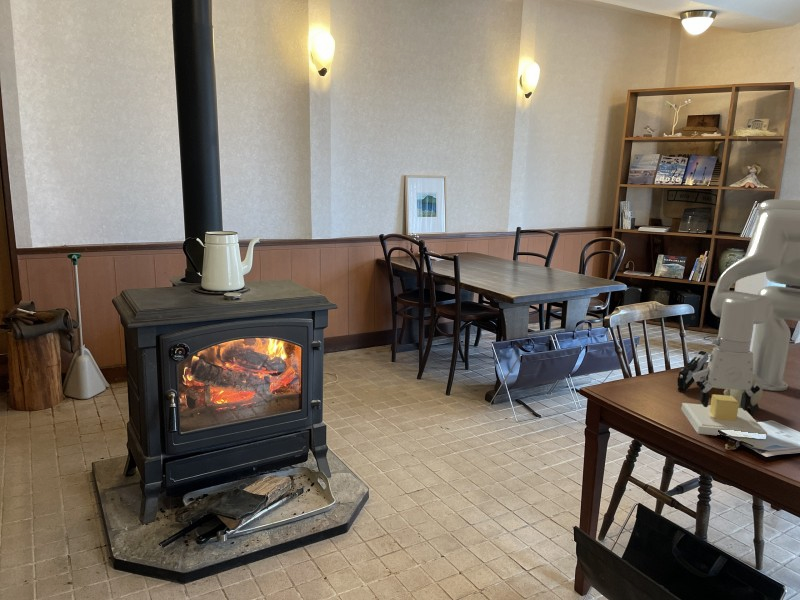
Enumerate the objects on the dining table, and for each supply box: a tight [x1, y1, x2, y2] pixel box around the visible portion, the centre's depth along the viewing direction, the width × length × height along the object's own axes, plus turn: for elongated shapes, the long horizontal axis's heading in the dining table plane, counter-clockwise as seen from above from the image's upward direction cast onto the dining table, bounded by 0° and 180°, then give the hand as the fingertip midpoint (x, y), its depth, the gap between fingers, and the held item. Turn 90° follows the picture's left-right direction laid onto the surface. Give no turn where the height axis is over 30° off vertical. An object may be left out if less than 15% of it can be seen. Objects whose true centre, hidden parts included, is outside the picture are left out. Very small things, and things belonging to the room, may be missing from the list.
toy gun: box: [677, 349, 710, 393], centre depth 187 cm, size 2×18×11 cm, turn 133°
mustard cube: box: [710, 393, 739, 421], centre depth 158 cm, size 5×5×5 cm
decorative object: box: [723, 380, 764, 417], centre depth 169 cm, size 12×10×10 cm
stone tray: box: [681, 402, 768, 436], centre depth 159 cm, size 16×16×2 cm
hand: (723, 407), depth 158 cm, fingers open, 9 cm apart
